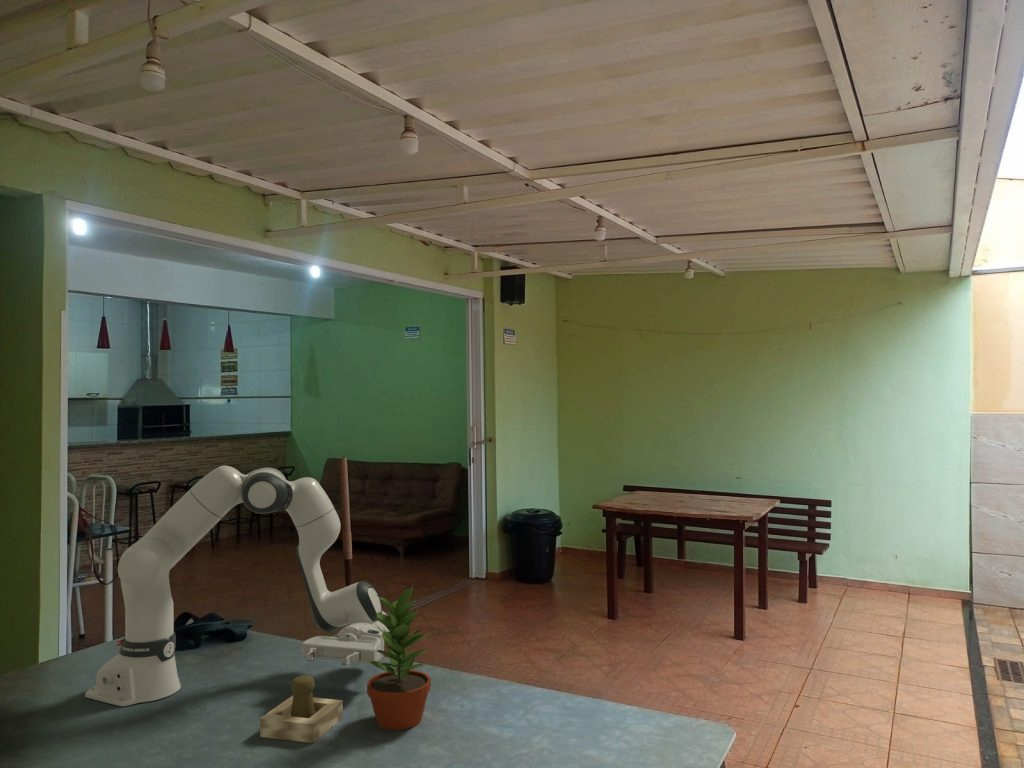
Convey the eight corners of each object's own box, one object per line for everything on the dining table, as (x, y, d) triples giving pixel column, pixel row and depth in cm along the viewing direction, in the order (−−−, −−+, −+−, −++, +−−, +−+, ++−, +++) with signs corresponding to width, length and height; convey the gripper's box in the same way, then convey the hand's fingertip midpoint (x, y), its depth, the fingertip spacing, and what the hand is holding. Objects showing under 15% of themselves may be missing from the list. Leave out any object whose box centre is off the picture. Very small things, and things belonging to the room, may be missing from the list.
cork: (309, 733, 162) (309, 683, 163) (284, 731, 164) (283, 681, 164) (321, 721, 168) (321, 673, 169) (296, 720, 169) (296, 671, 170)
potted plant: (352, 730, 164) (351, 594, 165) (388, 703, 178) (387, 578, 179) (411, 740, 158) (410, 600, 159) (443, 712, 173) (442, 583, 173)
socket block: (260, 736, 161) (260, 718, 161) (292, 712, 174) (292, 695, 174) (313, 743, 158) (313, 724, 158) (342, 717, 170) (342, 700, 170)
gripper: (317, 626, 195) (288, 643, 181) (389, 633, 189) (364, 650, 176) (317, 650, 195) (288, 668, 181) (388, 658, 189) (364, 677, 176)
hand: (326, 659), depth 179 cm, fingers open, 8 cm apart
